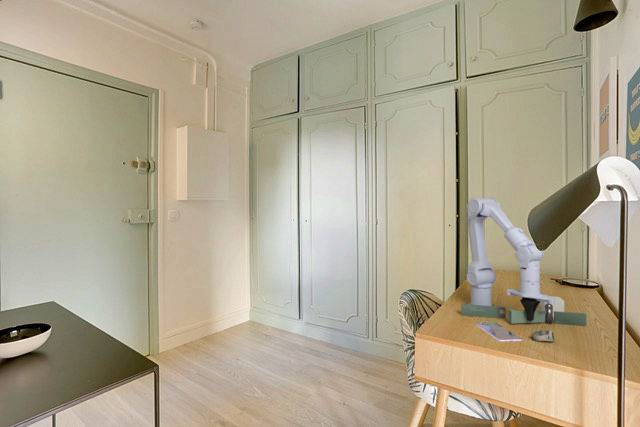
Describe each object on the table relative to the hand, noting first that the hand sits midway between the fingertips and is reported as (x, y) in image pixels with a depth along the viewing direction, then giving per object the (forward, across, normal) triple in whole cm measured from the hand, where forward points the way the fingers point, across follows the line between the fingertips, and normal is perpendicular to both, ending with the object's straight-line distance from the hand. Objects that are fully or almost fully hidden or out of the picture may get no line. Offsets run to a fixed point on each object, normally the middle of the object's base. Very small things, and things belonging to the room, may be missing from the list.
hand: (530, 320), depth 109 cm
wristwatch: (+1, +6, -9) cm, 11 cm away
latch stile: (+2, -14, -5) cm, 15 cm away
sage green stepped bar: (+1, -2, +1) cm, 2 cm away
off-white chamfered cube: (+2, -3, +20) cm, 20 cm away
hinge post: (+2, +5, +12) cm, 13 cm away
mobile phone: (+2, -3, -14) cm, 15 cm away
